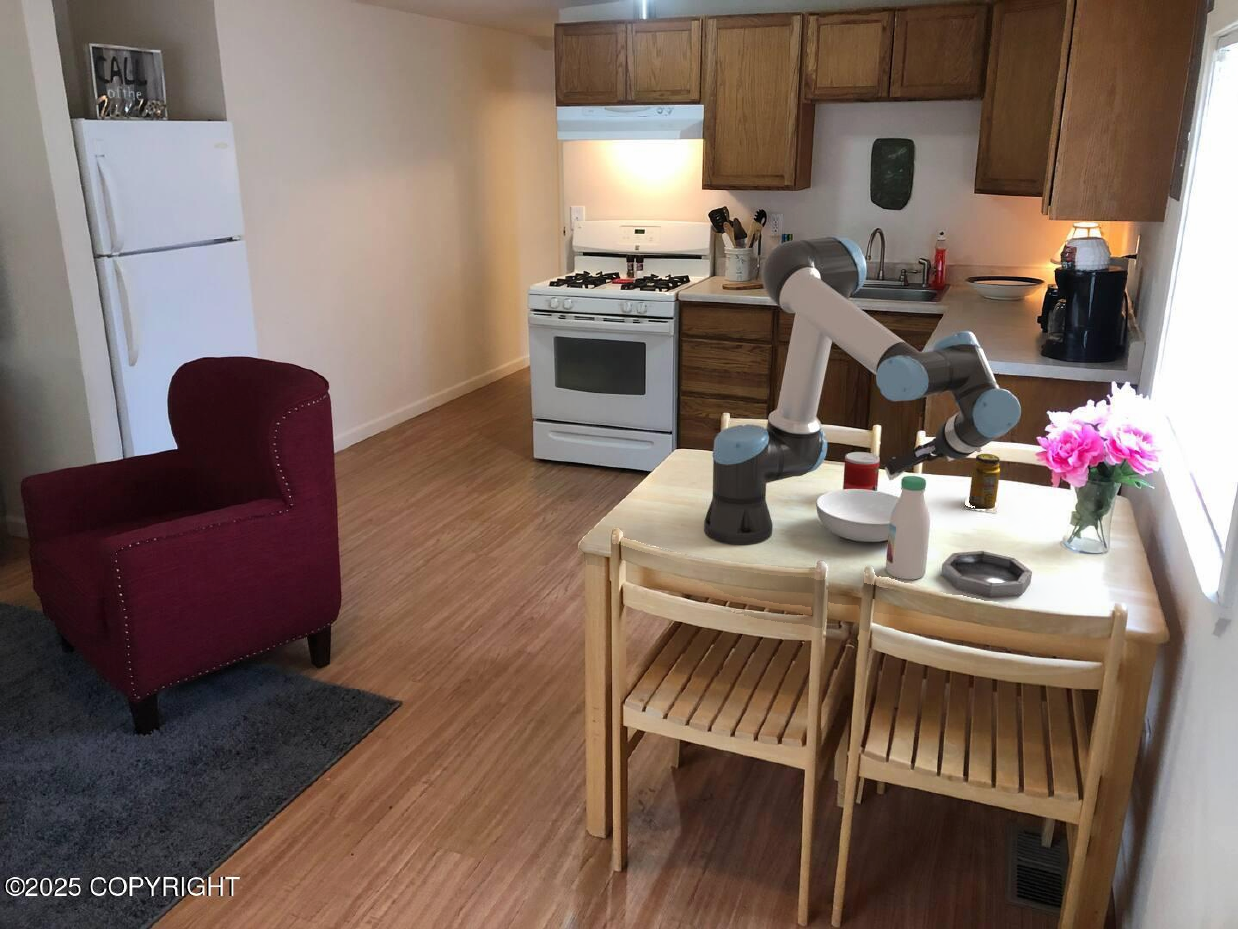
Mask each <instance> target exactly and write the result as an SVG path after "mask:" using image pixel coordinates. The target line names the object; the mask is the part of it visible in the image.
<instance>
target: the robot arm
mask: <svg viewBox="0 0 1238 929" xmlns="http://www.w3.org/2000/svg"><path fill="white" fill-rule="evenodd" d="M866 278H867V261H866V258H865V256H864V254H863V252H862V249H861V248H860V247H859V245H858V244H857V243H856V242H855V241H853V240H852V239H850V238H847V237H844V236H843V237H841V236H840V237H835V236H826V237H819V238H810V239H809V238H808V239H799V240H798V239H795V240H787V241H785V242H782V243H780V244H778V245H776V246H775V247H773V248H772V249H771V251H770V252H769V253H768V254H767V255H766V257H765V259H764V261H763V264H762V268H761V281H762V285H763V288H764V291H765V293H766V295H767V296H768V297H769V298H770V299H771V301H772V302H773V303H774V304H776V306H778V307H779V308H781V309H782V310H783V311H784V312H786V313H788V314H795V315H794V319H793V326H792V330H791V335H790V341H789V346H788V349H787V350H788V351H787V356H786V360H785V361H786V362H785V367H784V372H783V376H782V383H781V388H780V391H779V398H778V402H777V403H778V404H777V407H776V409H775V410H773V411H772V412H770V413H769V415H768V417H767V423H766V424H767V425H766V428H765V427H763V426H762V425H756V424H745V425H743V424H739V425H733V426H732V425H731V426H730V427H726V428H724V429H722V430H721V431H720V432H719V433H717V434H716V436H715V438H714V441H713V450H712V459H713V460H712V462H713V464H712V465H713V466H712V468H713V469H712V499H711V502H710V503H709V506H708V509H707V512H706V515H705V517H704V521H703V533H704V534H705V535H706V536H707V537H708V538H710V539H711V540H714V541H715V542H718V543H724V544H729V545H752V544H759V543H762V542H765V541H766V540H768V539H769V538H771V537H772V535H773V520H772V517H771V513H770V511H769V507H768V504H767V500H766V498H767V497H766V496H767V494H766V493H767V492H766V491H767V484H768V483H772V482H777V481H781V480H784V479H790V478H793V477H802V476H804V475H806V474H808V473H809V474H810V473H812V472H814V471H816V470H817V469H819V468H820V466H821V465H822V464H823V462H824V460H825V459H826V456H827V452H828V451H827V450H828V440H825V438H826V433H825V431H824V430H823V428H822V423H821V421H820V420H819V419H818V417H817V414H818V408H819V403H820V399H821V395H822V390H823V386H824V380H825V375H826V371H827V366H828V361H829V357H830V353H831V346H832V343H834V344H836V345H837V346H838V347H839V348H841V349H842V350H843V351H844V352H846V353H847V354H848V355H850V356H851V358H853V359H855V360H856V361H858V363H860V364H861V365H863V366H864V367H865V368H866V369H867V370H869V371H870V372H871V373H873V374H874V375H876V376H875V381H876V385H877V388H878V389H879V391H880V394H881V395H882V396H883V397H884V398H885V399H887V400H888V401H891V402H902V401H904V402H907V401H908V402H909V401H915V400H917V399H921V398H925V397H929V396H934V395H939V394H943V393H947V392H948V393H950V394H951V396H952V397H953V400H954V403H955V405H956V406H957V408H958V410H959V411H958V412H957V413H956V414H954V415H953V416H951V417H950V418H949V419H948V420H946V421H945V422H943V423H942V424H941V425H940V426H939V428H937V430H936V435H935V437H934V438H933V439H932V440H931V441H928V442H927V443H924V444H919V445H917V446H916V447H914V448H913V449H911V450H909V451H906V452H905V453H904V454H901V455H899V456H898V457H895V456H892V457H890V459H891V460H889V461H887V462H886V463H885V466H886V467H884V470H885V473H886V475H887V477H888V481H893V480H894V479H896V478H898V477H899V476H901V475H902V474H904V473H905V472H906V471H907V470H909V469H911V468H913V467H915V466H918V465H920V464H923V463H924V462H933V461H936V460H937V459H940V458H946V457H947V460H948V462H951V461H954V460H962V459H965V458H967V457H969V456H970V455H972V454H973V453H975V452H977V453H981V452H982V451H983V449H982V447H984V446H987V445H988V444H990V443H992V442H993V441H994V440H996V439H998V438H1001V437H1002V436H1005V435H1006V434H1007V433H1008V432H1009V431H1010V430H1012V428H1014V427H1015V426H1016V425H1017V424H1018V422H1019V421H1020V419H1021V414H1022V407H1021V404H1020V401H1019V399H1018V397H1016V396H1015V395H1014V394H1013V393H1011V391H1009V390H1007V389H1004V388H1001V387H1000V386H999V384H998V383H997V381H996V379H995V376H994V373H993V371H992V369H991V367H990V364H989V362H988V360H987V357H986V354H985V352H984V349H983V348H982V346H980V343H979V341H978V339H977V336H975V334H974V333H973V332H971V331H969V330H962V331H959V332H956V333H951V334H950V335H946V336H945V337H943V338H942V339H939V340H938V341H937V342H936V343H935V344H934V346H933V348H932V350H929V351H923V352H921V351H919V350H917V349H916V348H914V346H912V345H910V344H909V343H908V342H906V341H905V340H903V339H902V338H900V337H899V336H898V335H896V333H894V332H892V331H891V330H889V329H888V328H887V327H885V326H884V325H883V324H882V323H880V322H879V321H877V320H876V319H875V318H873V317H872V316H870V315H869V314H868V313H866V312H865V311H864V310H862V309H861V308H860V307H858V306H857V305H856V304H854V303H853V302H852V301H850V300H849V299H850V295H853V294H856V292H858V291H859V290H860V289H862V287H863V286H864V284H865V281H866ZM933 455H934V456H933Z"/></svg>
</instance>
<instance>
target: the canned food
mask: <svg viewBox="0 0 1238 929" xmlns="http://www.w3.org/2000/svg"><path fill="white" fill-rule="evenodd" d="M843 469H844V470H843V481H842V482H843V484H842V485H843V486H842V490H844V489H864V490H873V491H878V486H879V483H878V482H879V474H880V473H879V472H880V456H878V455H876V454H875V453H871V452H867V451H866V452H864V451H854V452H849V453H847V454H845V457H844V468H843Z"/></svg>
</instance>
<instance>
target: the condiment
mask: <svg viewBox="0 0 1238 929" xmlns="http://www.w3.org/2000/svg"><path fill="white" fill-rule="evenodd" d="M1000 474H1001V469H1000V457H999V456H997V455H995V454H992V453H979V454H977V455H976V457H975V461H974V465H973V466H972V472H971V480H970V481H971V482H970V486H969V487H970V489H969V495H968V497H969V503H970V504H971V505H972V506H975V508H974V507H973V508H971V507H968V506H966V505H965V504H964V505H965V506H963V509H964V510H966V509H967V510H968V509H987V510H985V511H981V512H982V513H989V514H990V513H991V514H998V507H999V506H998V507H997V506H996V507H995V503H996V502H998V501H999V500H997V496H998V489H999V483H1000V482H999V480H1000ZM998 503H999V502H998ZM988 509H993V510H988ZM996 509H997V510H996Z"/></svg>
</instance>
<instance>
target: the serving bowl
mask: <svg viewBox="0 0 1238 929" xmlns="http://www.w3.org/2000/svg"><path fill="white" fill-rule="evenodd" d="M899 498H900V496H897V495H894V494H891V493H887V492H883V491H879V490H877V491H873V490H864V489H844V490H843V489H836V490H831V491H829V492H828V491H827V492H825V493H824V494H821V495H819V497H817V499H816V501H815V507H816V508H815V509H816V513H817V516H818V519H819V521H820V522H821V524H822V525H823V526H824V527H825V528H826V529H827V530H828V531H830V532H831V533H832V534H834V535H837V536H839V537H842V538H845V539H847V540H851V541H856V542H863V543H864V542H869V543H871V542H873V543H876V542H877V543H878V542H884V541H888V535H889V525H890V518H891V514H892V511H893V509H894V507H895V505H896V503H897V502H898V500H899Z"/></svg>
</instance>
